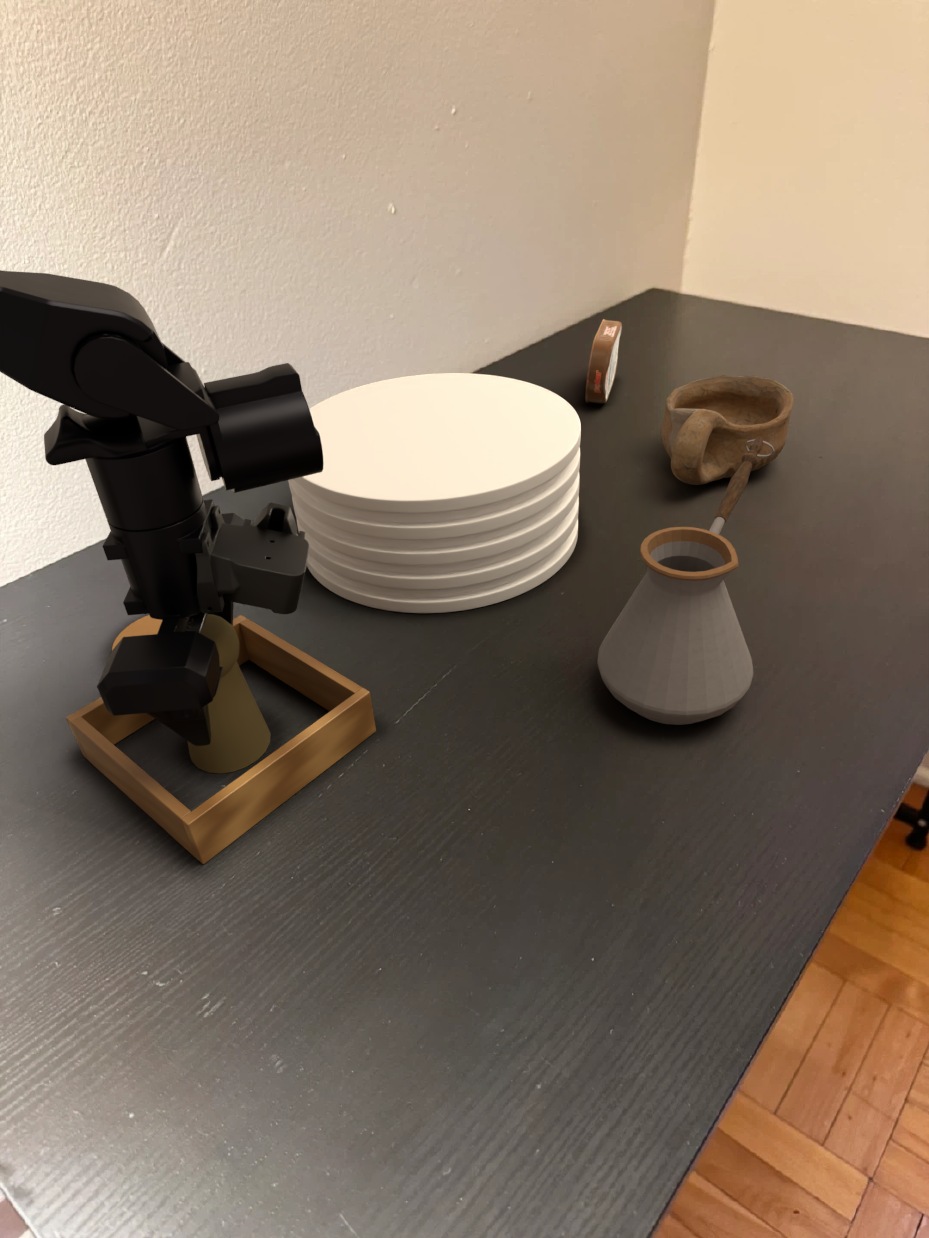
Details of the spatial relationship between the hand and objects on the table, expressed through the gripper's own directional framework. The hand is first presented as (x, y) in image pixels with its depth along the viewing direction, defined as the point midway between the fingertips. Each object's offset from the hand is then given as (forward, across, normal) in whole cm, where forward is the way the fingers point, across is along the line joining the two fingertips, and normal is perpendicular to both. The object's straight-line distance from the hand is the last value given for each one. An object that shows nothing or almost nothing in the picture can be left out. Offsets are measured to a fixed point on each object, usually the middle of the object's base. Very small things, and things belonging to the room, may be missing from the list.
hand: (215, 698), depth 61 cm
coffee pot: (+5, +6, -37) cm, 38 cm away
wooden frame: (+5, 0, 0) cm, 5 cm away
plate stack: (+5, +28, -17) cm, 33 cm away
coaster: (+5, +14, +8) cm, 16 cm away
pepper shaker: (+5, 0, 0) cm, 5 cm away
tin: (+5, +62, -40) cm, 74 cm away
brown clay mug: (+5, +37, -48) cm, 61 cm away
